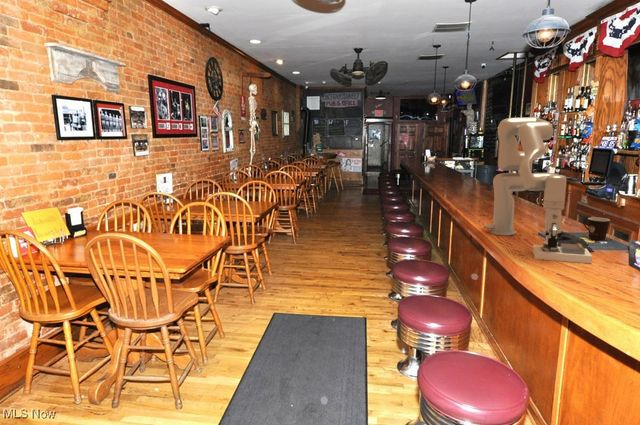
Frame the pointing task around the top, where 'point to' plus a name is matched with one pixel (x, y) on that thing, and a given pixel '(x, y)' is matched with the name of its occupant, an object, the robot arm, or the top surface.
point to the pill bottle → (546, 248)
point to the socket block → (561, 255)
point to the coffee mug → (597, 228)
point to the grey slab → (572, 248)
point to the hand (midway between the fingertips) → (550, 244)
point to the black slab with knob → (571, 240)
